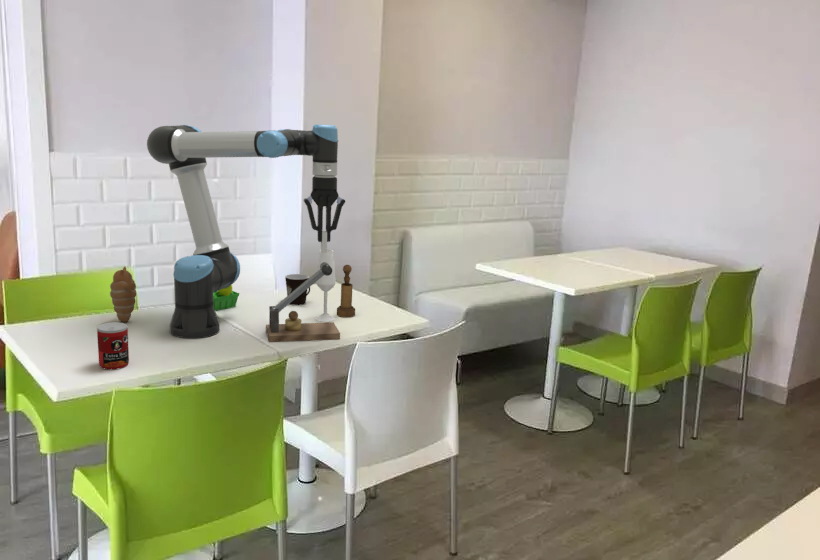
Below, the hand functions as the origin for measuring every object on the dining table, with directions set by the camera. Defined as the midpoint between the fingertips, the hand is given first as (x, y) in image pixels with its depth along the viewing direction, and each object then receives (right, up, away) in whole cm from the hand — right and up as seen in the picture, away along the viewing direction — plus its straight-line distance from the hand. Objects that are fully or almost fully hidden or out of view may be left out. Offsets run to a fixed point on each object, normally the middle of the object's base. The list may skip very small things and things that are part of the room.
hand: (323, 252), depth 228 cm
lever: (-7, -13, +2) cm, 15 cm away
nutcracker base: (-7, -26, +5) cm, 28 cm away
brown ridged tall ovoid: (-66, -23, +9) cm, 70 cm away
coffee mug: (-14, -18, +40) cm, 46 cm away
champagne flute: (-2, -22, +23) cm, 32 cm away
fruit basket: (-40, -19, +31) cm, 54 cm away
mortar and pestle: (+4, -21, +29) cm, 36 cm away
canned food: (-54, -32, -29) cm, 69 cm away
